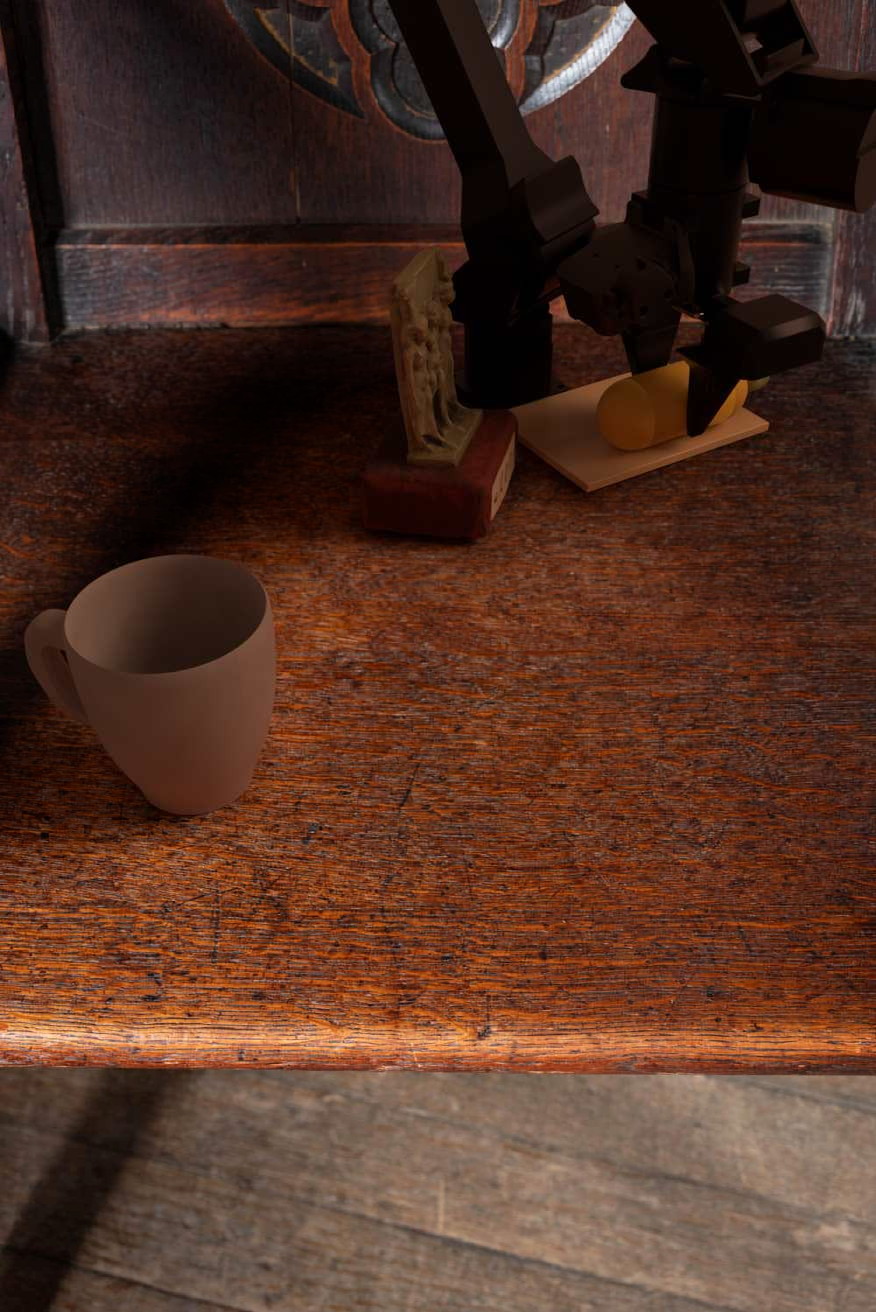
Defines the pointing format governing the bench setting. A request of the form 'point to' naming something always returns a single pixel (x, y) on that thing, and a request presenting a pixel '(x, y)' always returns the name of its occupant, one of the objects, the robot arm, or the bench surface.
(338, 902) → the bench surface
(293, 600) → the bench surface
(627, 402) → the orange rounded cylinder
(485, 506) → the sculpture
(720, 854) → the bench surface
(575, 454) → the birch board
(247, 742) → the mug
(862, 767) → the bench surface
